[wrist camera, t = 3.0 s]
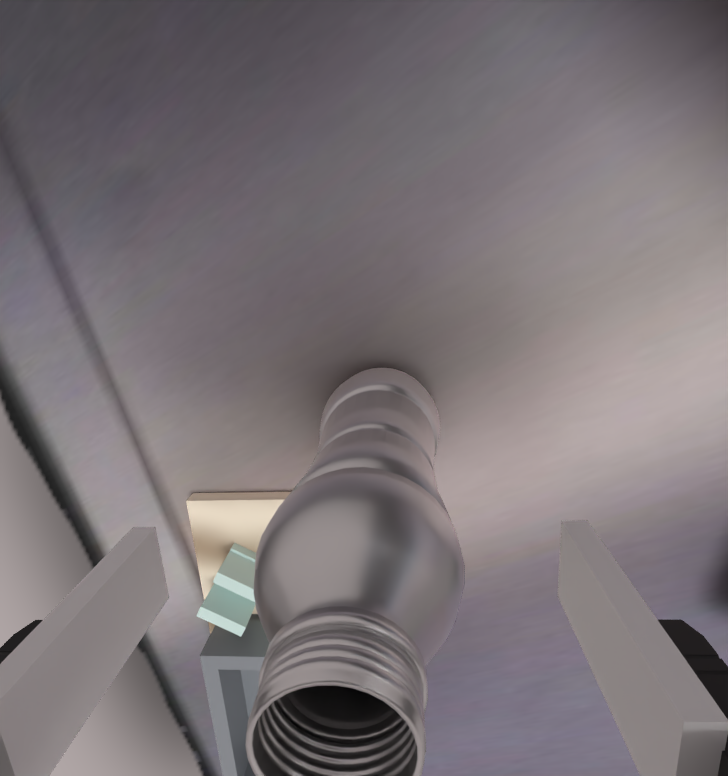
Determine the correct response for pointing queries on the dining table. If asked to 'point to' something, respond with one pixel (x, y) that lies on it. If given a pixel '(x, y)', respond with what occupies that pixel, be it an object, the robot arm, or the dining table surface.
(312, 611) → the plastic bottle
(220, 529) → the board
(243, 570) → the clip
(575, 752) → the dining table surface
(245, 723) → the holder
